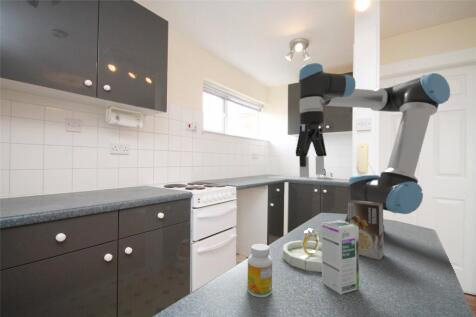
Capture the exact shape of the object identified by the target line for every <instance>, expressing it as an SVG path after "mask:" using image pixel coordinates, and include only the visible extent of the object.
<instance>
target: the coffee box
mask: <svg viewBox="0 0 476 317" xmlns="http://www.w3.org/2000/svg"><path fill="white" fill-rule="evenodd" d="M347 213H348V222H349V223H352V224H355V225H357V226H358V227H359V256H363V257H367V258H371V259H375V260H378V261H381V259H382V258H383V256H384V255H385V254H384V233H383V224H384V210H383V203H375V202H367V201H358V200H352V201H350V202H349V201H348V202H347Z"/></svg>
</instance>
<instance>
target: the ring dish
mask: <svg viewBox="0 0 476 317" xmlns="http://www.w3.org/2000/svg"><path fill="white" fill-rule="evenodd" d="M315 246H316V240H315V241H314V240H308V242H307V244H306V250H307V252H309V251H311V252H312V251H313V250H314V248H315ZM282 259H283V260H284V261H285V262H286V263H288V264H289V265H290V266H292V267H294V268H295V267H296V268H298V269H301V270H302V271H303V270H304V271H308V272H309V271H310V272H318V273H322V242H320V246H319V249H318V251H317V252H316V253H315V254H314V255H313V256H310V255H307V254H305V253H304V252H303V249H302V239H301V240H300V239H299V240H291V241H288V242H287V243H284V244H283V246H282Z"/></svg>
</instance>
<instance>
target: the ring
mask: <svg viewBox="0 0 476 317" xmlns="http://www.w3.org/2000/svg"><path fill="white" fill-rule="evenodd" d="M313 236H314V238H315V241H316V246H315V248H314V250H313V251H312V252H311V251H309V252H307V250H306V244H307V242H308V241H310V239H311V238H312V237H313ZM301 241H302V249H303V252H304V253H305V254H307V255H310V256H313V255H314V254H315V253H316V252H317V251H318V249H319V246H320V243H321V236H320V233H319V232H318V231H316V229H315V228H313V229H312V228H311V227H309V228H308V229H306V230H305V231H304V232H303V235H302V239H301Z"/></svg>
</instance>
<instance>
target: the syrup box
mask: <svg viewBox="0 0 476 317" xmlns="http://www.w3.org/2000/svg"><path fill="white" fill-rule="evenodd" d="M321 243H322V272H321V282H322V283H323V284H324V285H325V286H327V287H329V288H330V289H331V290H333V291H334V292H336V294H339V295H340V296H341V295H344V294H347V293H350V292H353V291H357V290H359V289H360V255H359V227H358V226H357V225H355V224H352V223H349V222H345V220H340V219H339V220H333V221H327V222H321Z"/></svg>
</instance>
